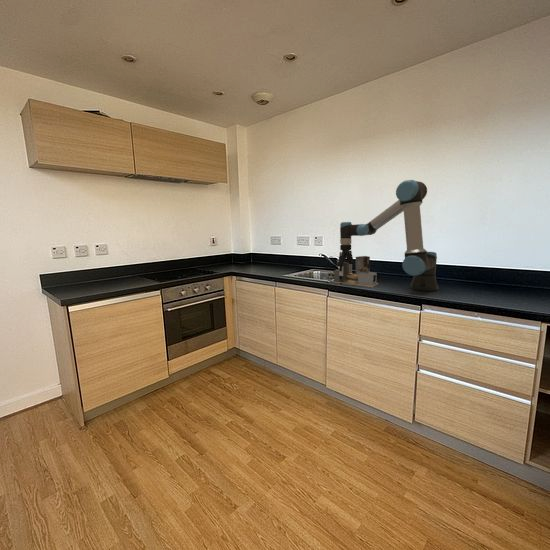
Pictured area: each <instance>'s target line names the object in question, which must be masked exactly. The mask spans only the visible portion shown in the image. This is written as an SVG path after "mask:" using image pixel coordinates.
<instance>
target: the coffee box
mask: <svg viewBox="0 0 550 550" xmlns="http://www.w3.org/2000/svg"><path fill="white" fill-rule="evenodd" d="M370 258H371V256H367V255H361V256H359V255H358V256H355V273H354V274H358V273H359V272H371V271H370V269H371V267H370V266H371V265H370V264H371V259H370Z"/></svg>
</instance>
